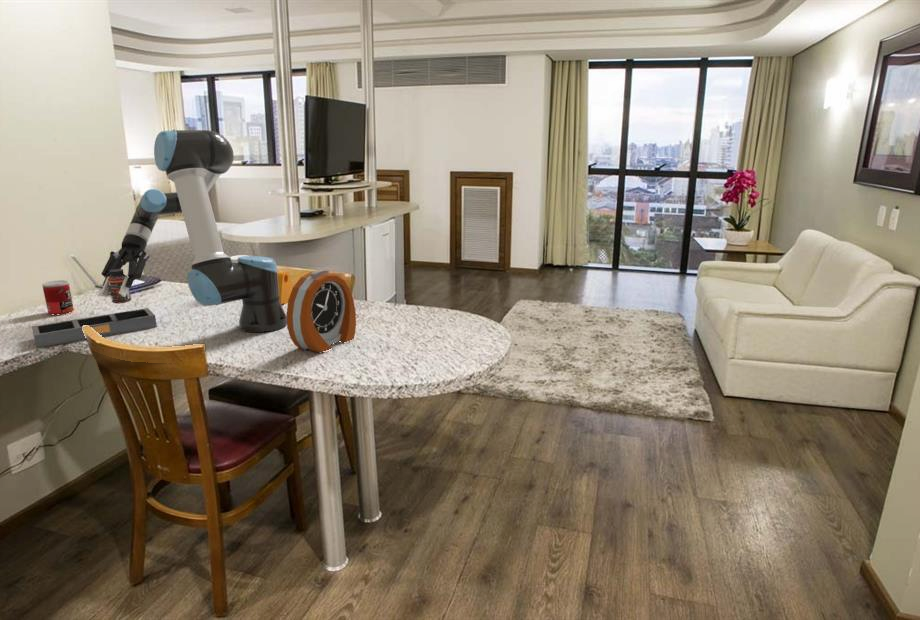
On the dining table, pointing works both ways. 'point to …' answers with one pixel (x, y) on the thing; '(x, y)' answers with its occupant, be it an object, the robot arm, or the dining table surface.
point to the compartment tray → (100, 324)
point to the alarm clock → (320, 311)
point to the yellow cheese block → (284, 286)
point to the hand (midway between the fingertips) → (113, 294)
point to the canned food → (58, 297)
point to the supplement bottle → (117, 286)
